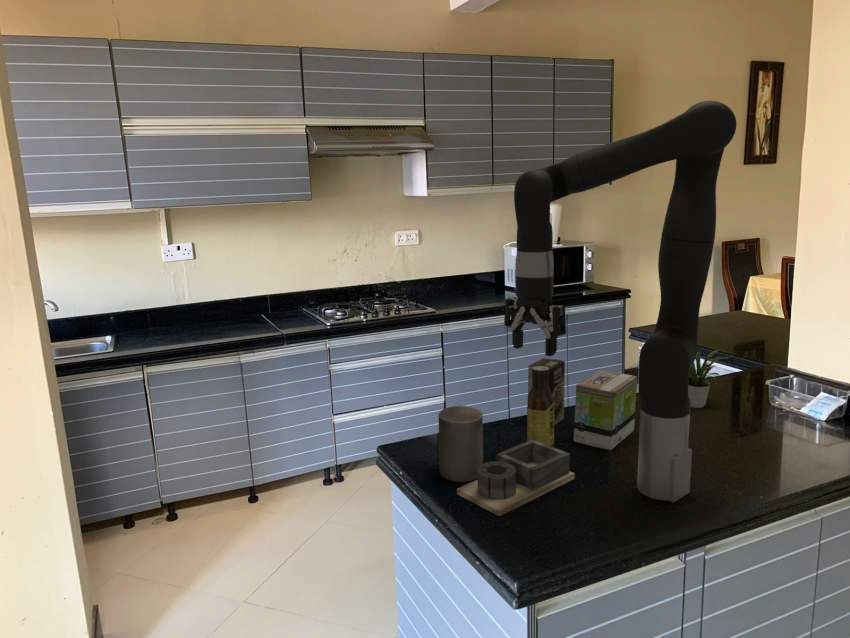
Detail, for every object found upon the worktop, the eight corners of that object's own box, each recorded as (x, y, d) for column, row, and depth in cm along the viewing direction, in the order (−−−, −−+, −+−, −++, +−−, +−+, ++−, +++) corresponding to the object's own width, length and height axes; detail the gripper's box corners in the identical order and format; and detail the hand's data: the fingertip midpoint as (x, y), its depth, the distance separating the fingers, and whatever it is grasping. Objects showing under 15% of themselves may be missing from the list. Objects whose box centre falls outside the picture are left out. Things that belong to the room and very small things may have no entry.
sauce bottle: (556, 454, 149) (557, 372, 145) (529, 454, 149) (529, 372, 145) (551, 442, 156) (552, 363, 151) (525, 443, 156) (525, 364, 151)
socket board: (574, 478, 137) (575, 453, 136) (499, 516, 123) (499, 489, 122) (531, 460, 146) (531, 437, 145) (456, 494, 132) (456, 468, 131)
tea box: (612, 452, 150) (615, 391, 146) (572, 442, 156) (573, 384, 152) (635, 430, 161) (638, 374, 158) (597, 422, 167) (598, 368, 164)
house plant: (731, 401, 179) (736, 344, 176) (724, 417, 168) (729, 357, 165) (678, 393, 187) (681, 338, 183) (667, 408, 176) (670, 350, 172)
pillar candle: (432, 466, 145) (431, 404, 141) (472, 459, 148) (471, 397, 145) (449, 486, 136) (448, 419, 132) (491, 477, 139) (490, 412, 136)
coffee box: (549, 430, 163) (550, 369, 160) (526, 425, 167) (527, 365, 164) (565, 419, 170) (566, 360, 167) (542, 414, 174) (543, 356, 171)
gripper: (575, 274, 125) (573, 354, 129) (520, 267, 136) (520, 342, 139) (550, 279, 121) (549, 362, 124) (495, 272, 131) (495, 348, 135)
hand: (533, 351), depth 132 cm, fingers open, 8 cm apart
